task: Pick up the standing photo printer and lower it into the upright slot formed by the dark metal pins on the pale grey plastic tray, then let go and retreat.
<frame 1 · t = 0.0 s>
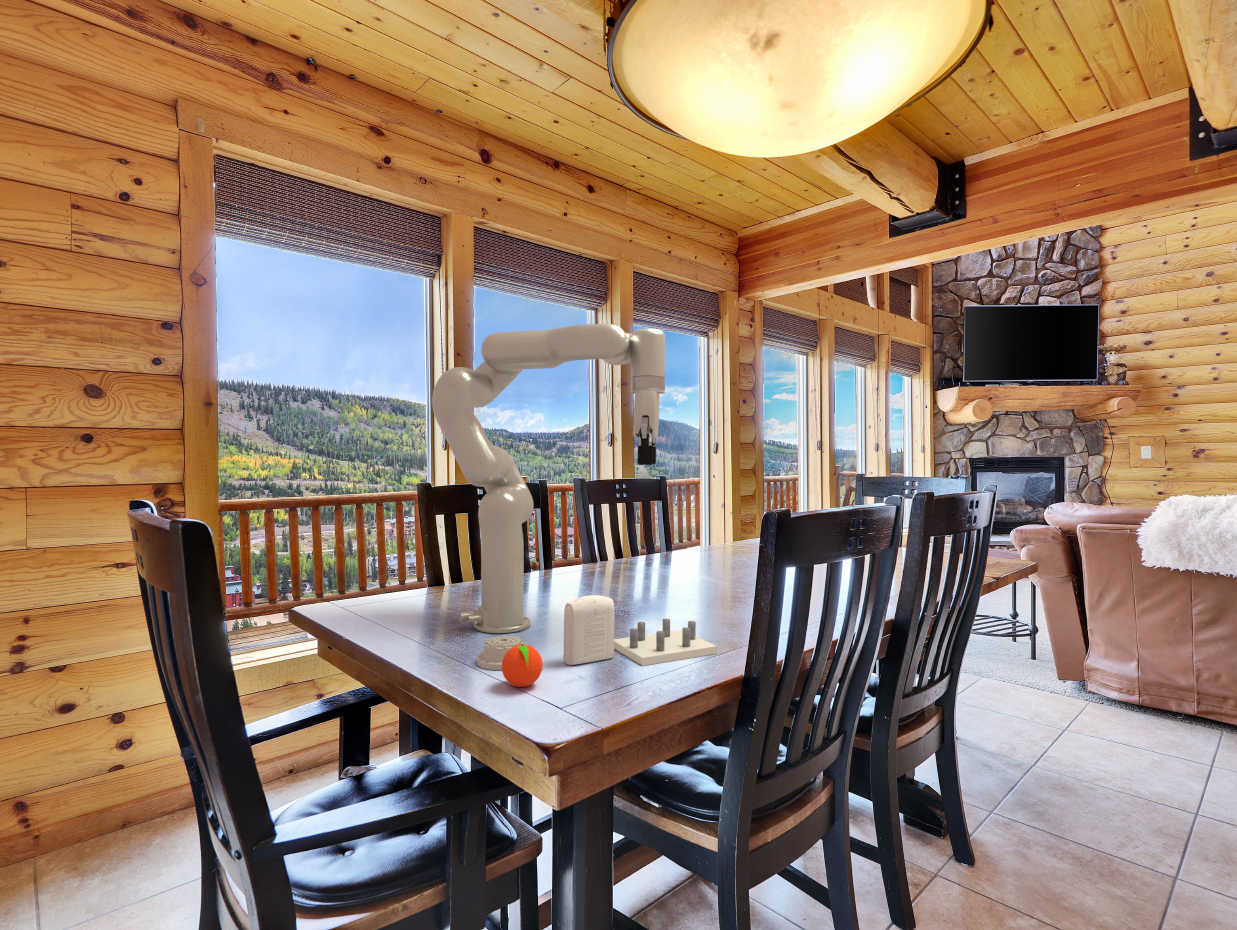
hand: (647, 464, 142), 37 cm above the table, tool pointing down, fingers open, 9 cm apart
mechanical component: (503, 664, 122), on the table
pin tray: (663, 650, 130), on the table
clementine: (522, 688, 110), on the table
photo printer: (589, 661, 124), on the table
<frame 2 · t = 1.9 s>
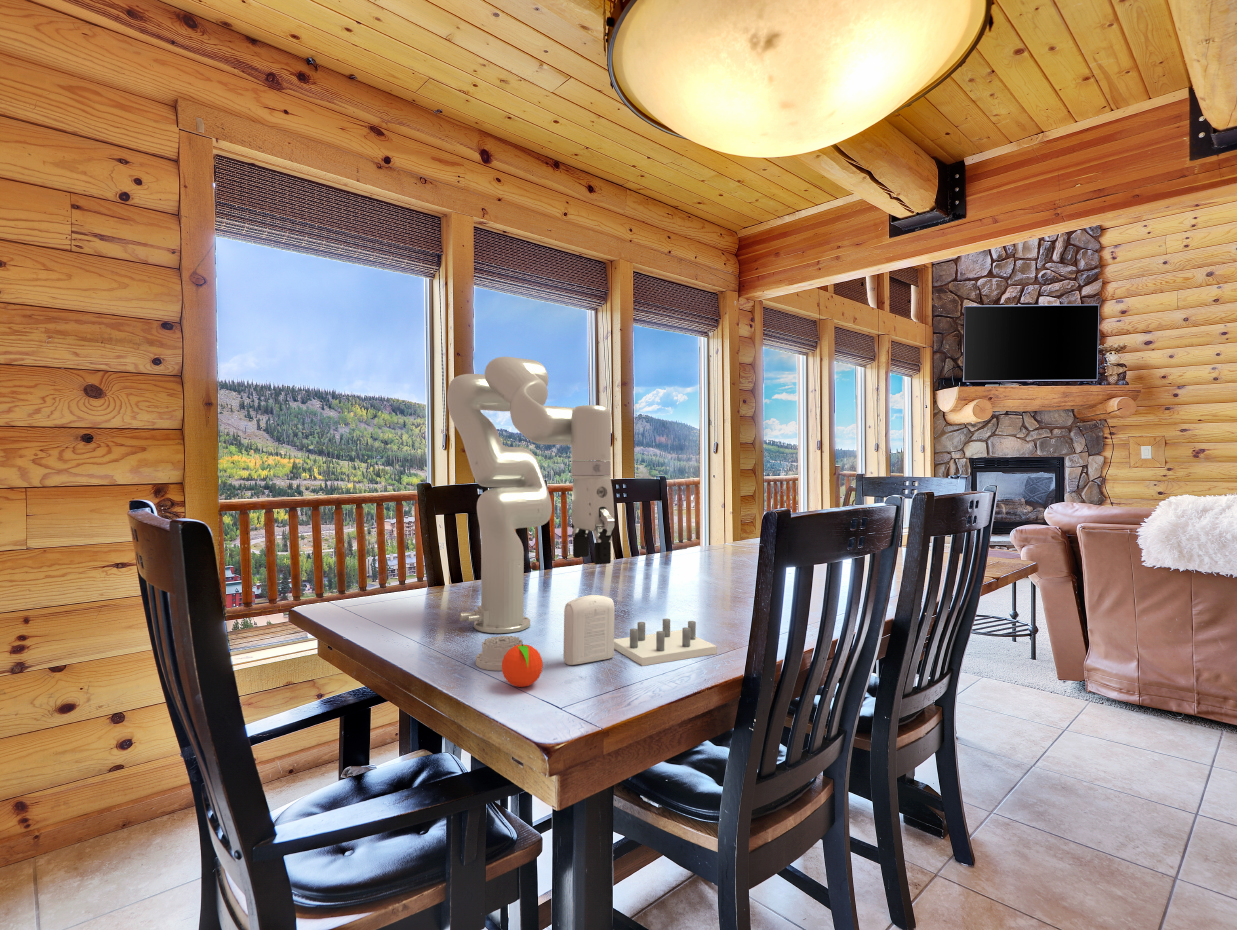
hand: (591, 560, 123), 19 cm above the table, tool pointing down, fingers open, 9 cm apart
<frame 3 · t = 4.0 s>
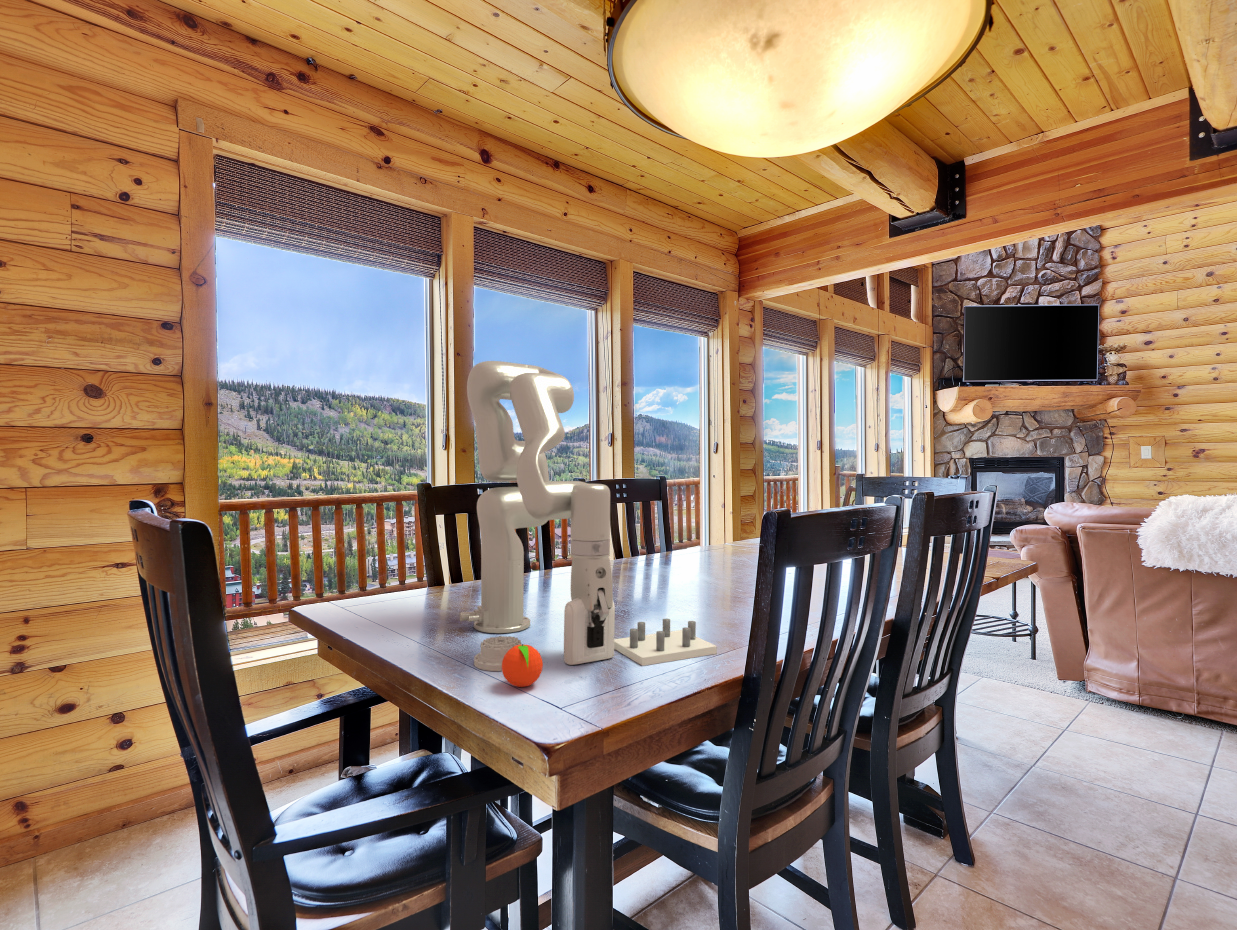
hand: (589, 642, 124), 3 cm above the table, tool pointing down, fingers closed on photo printer, 4 cm apart
photo printer: (589, 660, 124), on the table, touching gripper
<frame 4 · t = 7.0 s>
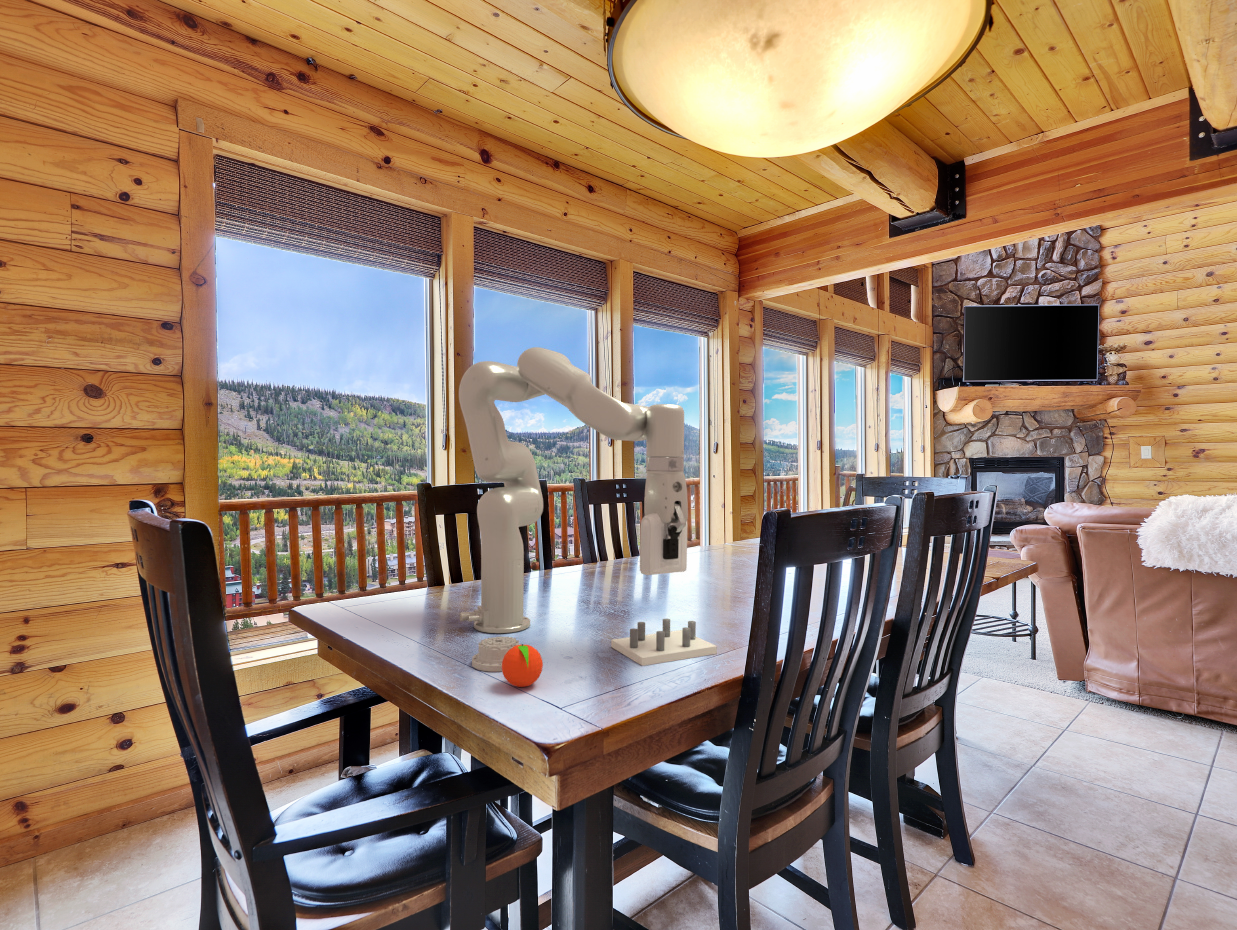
hand: (663, 555, 130), 19 cm above the table, tool pointing down, fingers closed on photo printer, 4 cm apart
photo printer: (663, 573, 130), point 16 cm above the table, touching gripper
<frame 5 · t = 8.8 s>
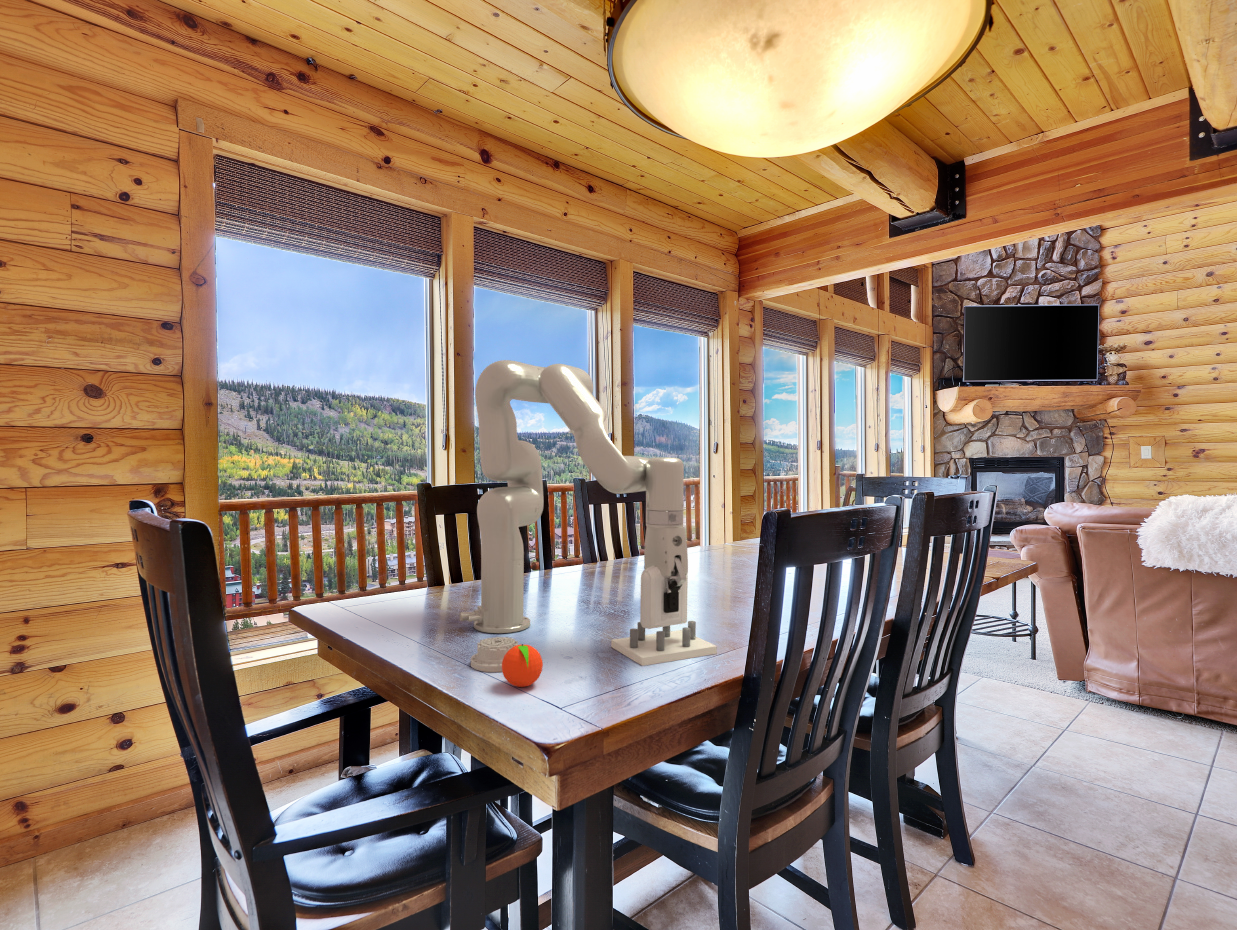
hand: (664, 608, 130), 9 cm above the table, tool pointing down, fingers closed on photo printer, 4 cm apart
photo printer: (663, 626, 130), point 5 cm above the table, touching gripper
when the fingers open (6 cm above the table, at t = 10.4 s): photo printer drops 1 cm, resting on pin tray.
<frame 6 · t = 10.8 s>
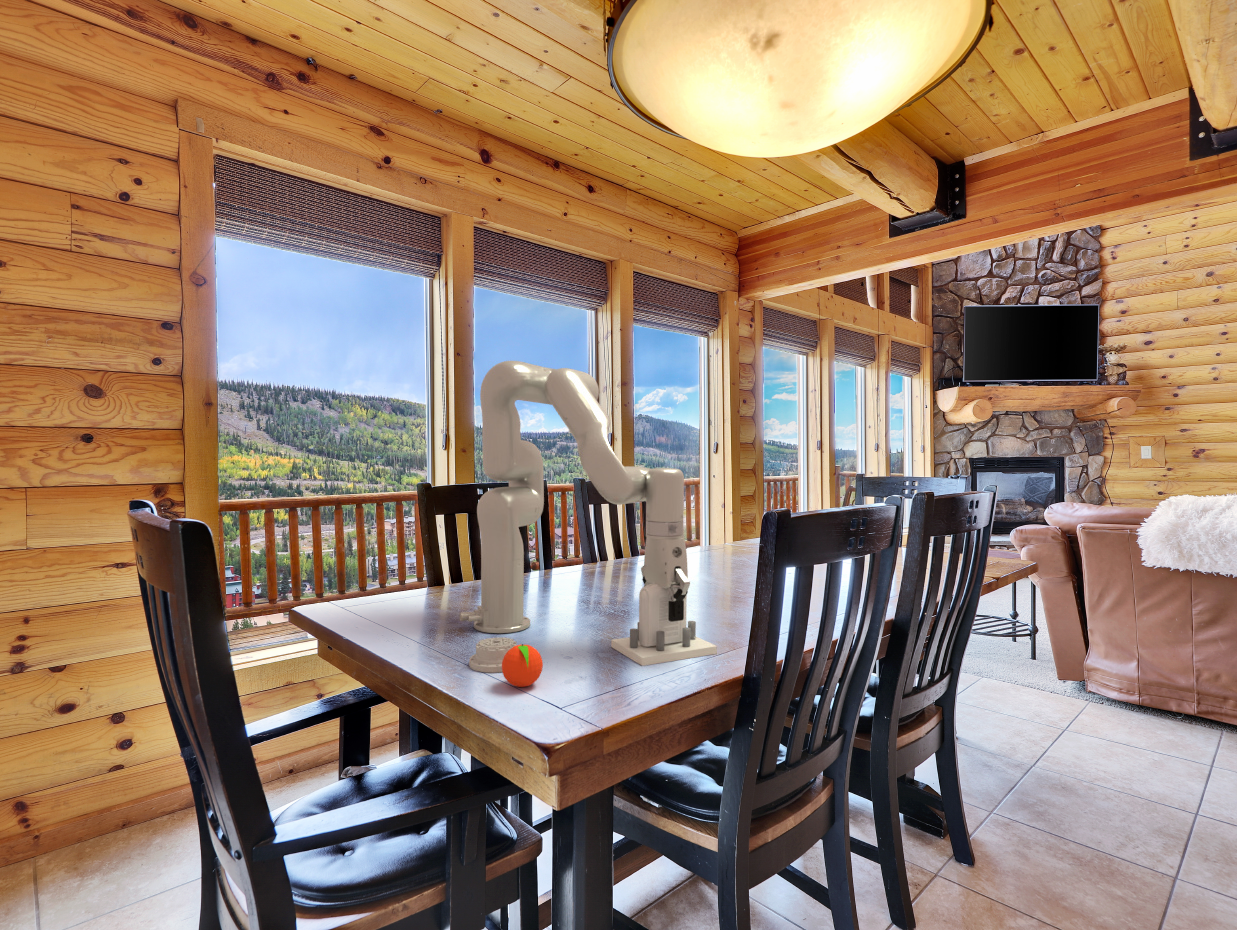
hand: (663, 615, 130), 7 cm above the table, tool pointing down, fingers open, 8 cm apart
photo printer: (662, 643, 130), point 1 cm above the table, touching pin tray
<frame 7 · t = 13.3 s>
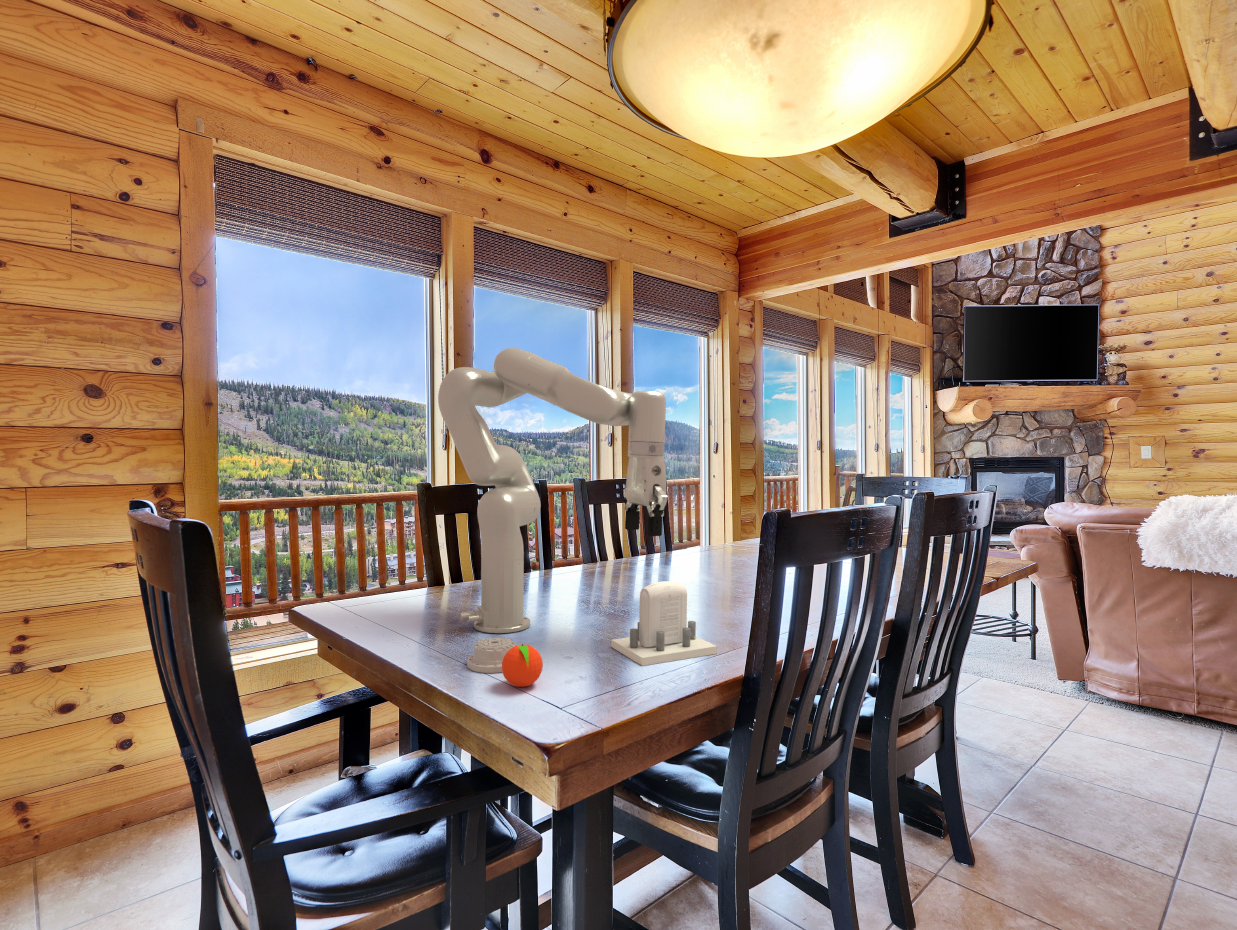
hand: (642, 532, 135), 23 cm above the table, tool pointing down, fingers open, 9 cm apart
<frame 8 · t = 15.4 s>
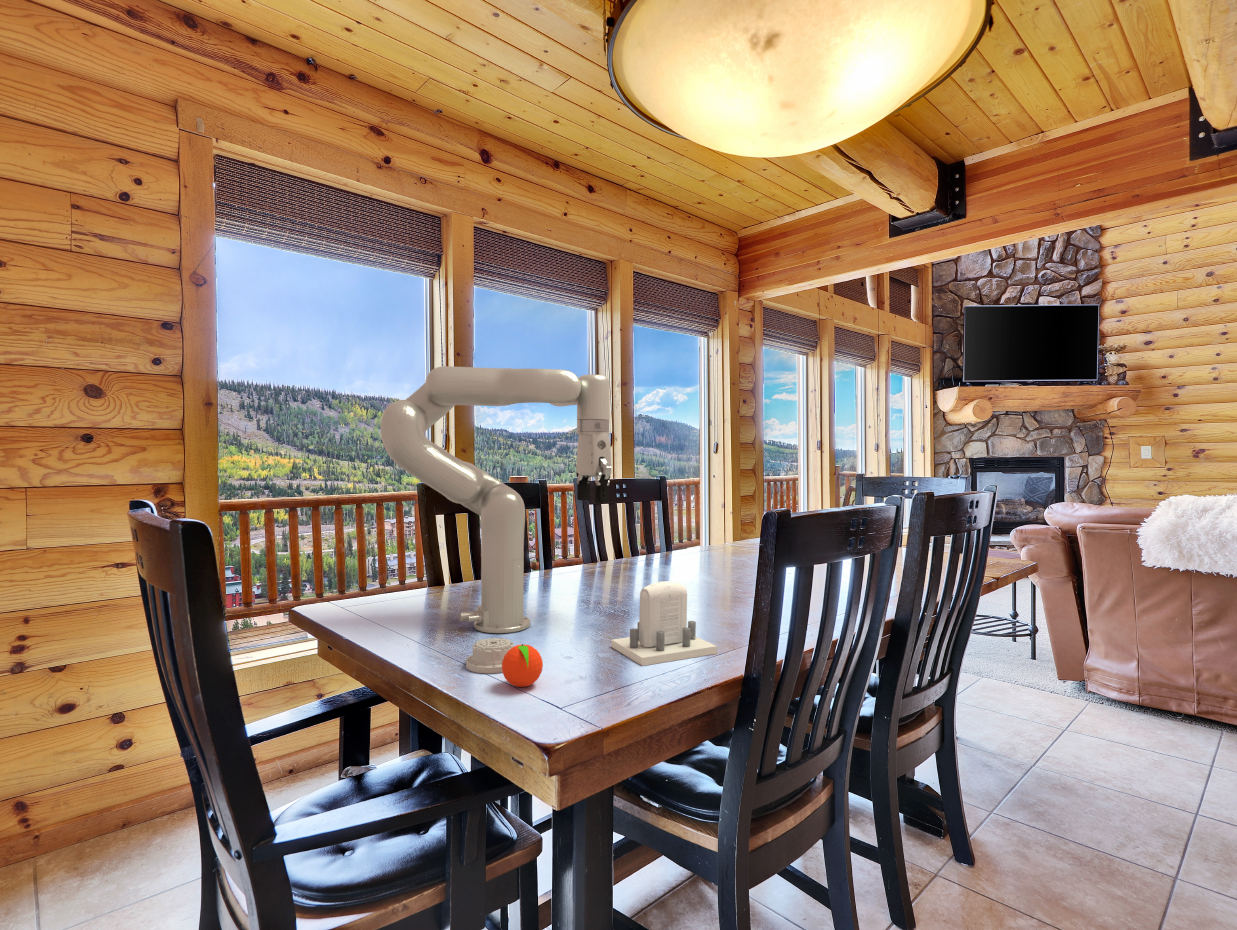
hand: (592, 501, 151), 28 cm above the table, tool pointing down, fingers open, 9 cm apart
at the end: photo printer 0.1 cm off-centre on the pin tray, point 1.3 cm above the pin tray's base; photo printer tilted 0°; the gripper is holding nothing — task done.
